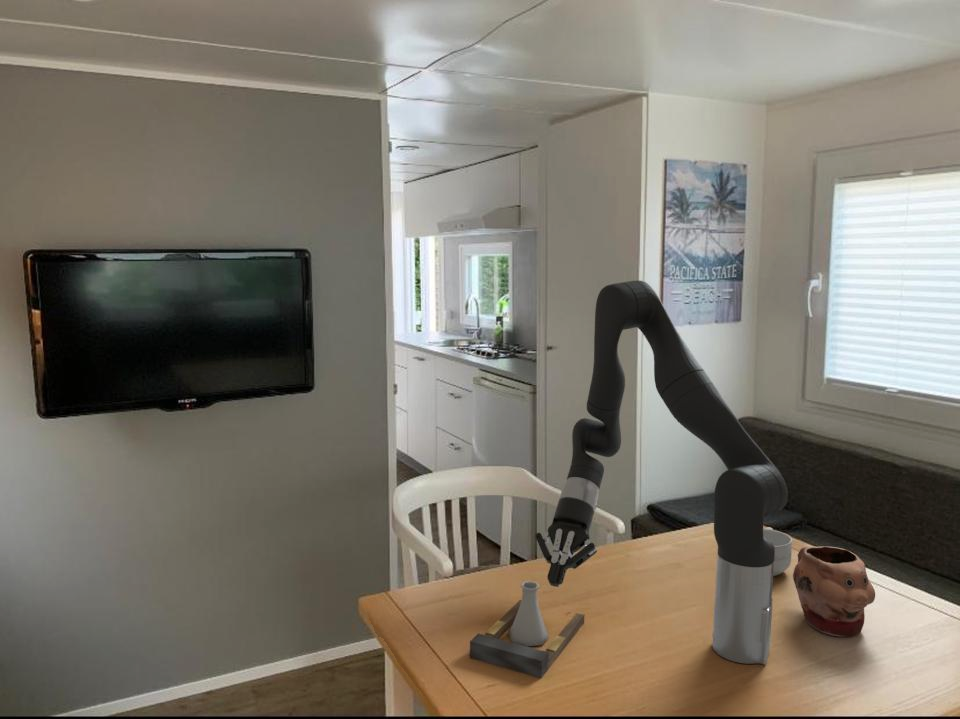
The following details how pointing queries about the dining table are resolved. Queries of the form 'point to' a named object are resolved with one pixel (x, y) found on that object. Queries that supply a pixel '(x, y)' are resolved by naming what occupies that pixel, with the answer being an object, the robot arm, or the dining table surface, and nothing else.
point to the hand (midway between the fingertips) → (553, 584)
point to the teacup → (779, 549)
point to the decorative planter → (833, 589)
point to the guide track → (520, 646)
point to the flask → (529, 619)
